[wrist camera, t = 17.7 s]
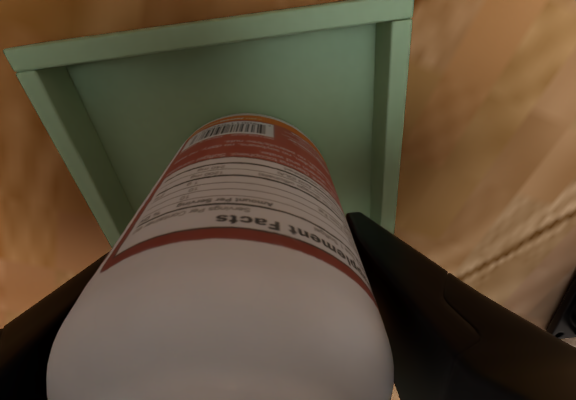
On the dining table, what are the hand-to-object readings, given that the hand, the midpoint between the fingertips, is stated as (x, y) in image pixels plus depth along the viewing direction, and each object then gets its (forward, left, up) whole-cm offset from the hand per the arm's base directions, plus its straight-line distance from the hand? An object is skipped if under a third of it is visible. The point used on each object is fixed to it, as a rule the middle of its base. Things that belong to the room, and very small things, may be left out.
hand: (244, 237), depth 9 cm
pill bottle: (0, 0, -4) cm, 4 cm away
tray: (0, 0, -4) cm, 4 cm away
